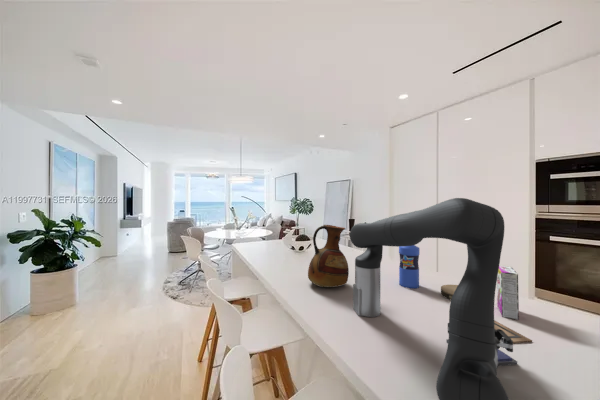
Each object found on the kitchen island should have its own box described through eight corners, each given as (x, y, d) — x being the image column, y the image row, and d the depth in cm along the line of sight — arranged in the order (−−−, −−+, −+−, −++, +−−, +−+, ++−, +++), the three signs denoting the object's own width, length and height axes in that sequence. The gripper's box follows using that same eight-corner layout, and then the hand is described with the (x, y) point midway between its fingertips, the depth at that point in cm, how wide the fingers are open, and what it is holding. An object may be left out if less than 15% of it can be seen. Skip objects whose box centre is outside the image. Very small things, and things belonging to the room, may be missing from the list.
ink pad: (477, 367, 60) (477, 362, 60) (446, 342, 71) (446, 338, 71) (517, 364, 61) (517, 359, 61) (480, 340, 72) (480, 336, 72)
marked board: (489, 344, 70) (489, 342, 70) (453, 321, 84) (453, 319, 84) (532, 342, 71) (532, 340, 71) (489, 319, 85) (489, 317, 85)
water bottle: (401, 281, 127) (401, 233, 127) (421, 284, 121) (421, 234, 122) (396, 286, 119) (396, 235, 119) (417, 290, 114) (417, 237, 114)
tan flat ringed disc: (451, 288, 117) (451, 282, 117) (491, 300, 103) (491, 293, 103) (433, 295, 108) (433, 288, 108) (473, 308, 95) (473, 300, 95)
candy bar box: (496, 305, 97) (495, 264, 97) (512, 308, 94) (512, 266, 94) (501, 317, 87) (500, 271, 87) (519, 320, 85) (519, 273, 85)
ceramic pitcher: (352, 292, 111) (352, 226, 111) (308, 291, 111) (308, 226, 111) (344, 278, 130) (344, 223, 131) (307, 278, 131) (307, 222, 131)
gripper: (518, 346, 51) (512, 316, 64) (440, 324, 60) (450, 302, 73) (518, 382, 51) (513, 344, 64) (441, 355, 60) (450, 327, 73)
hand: (479, 322), depth 68 cm, fingers closed on cork, 3 cm apart
